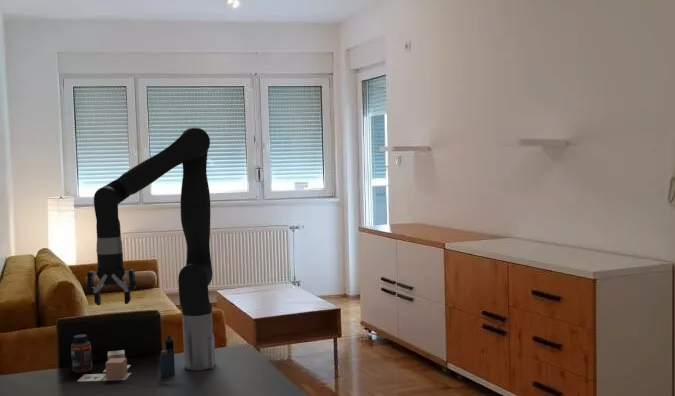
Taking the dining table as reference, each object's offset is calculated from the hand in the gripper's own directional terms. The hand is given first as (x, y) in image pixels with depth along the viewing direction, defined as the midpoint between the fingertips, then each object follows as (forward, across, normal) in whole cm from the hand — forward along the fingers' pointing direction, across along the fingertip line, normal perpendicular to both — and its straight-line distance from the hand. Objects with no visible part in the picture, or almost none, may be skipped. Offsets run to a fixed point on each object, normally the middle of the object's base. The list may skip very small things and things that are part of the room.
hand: (112, 304), depth 234 cm
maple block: (+22, +1, -6) cm, 22 cm away
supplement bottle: (+22, +12, -6) cm, 26 cm away
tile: (+22, +1, -6) cm, 23 cm away
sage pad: (+22, -1, +3) cm, 22 cm away
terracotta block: (+22, -1, +3) cm, 22 cm away
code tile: (+22, +6, +3) cm, 23 cm away
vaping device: (+22, -16, +4) cm, 28 cm away
